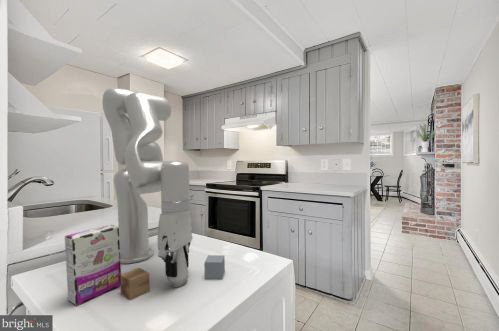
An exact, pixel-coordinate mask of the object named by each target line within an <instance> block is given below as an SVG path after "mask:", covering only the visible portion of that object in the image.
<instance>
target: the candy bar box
mask: <svg viewBox="0 0 499 331" xmlns="http://www.w3.org/2000/svg"><path fill="white" fill-rule="evenodd" d="M64 248H65V249H64V250H65V264H66V265H65V266H66V283H67V284H66V285H67V299H68V302H70V301H71V302H72V304H73V303H74V304H75V306H76V305H78V306H80V305H82V304H85V303H87V302H89V301H91V300H93V299H95V298H97V297H100V296H102V295H103V294H106V293H109V292H110V291H112V290H114V289H117V288H118V287H121V276H120V275H122V269H121V268H122V265H121V264H122V263H120V242H119V227H118V226H117V225H113V224H108V225H103V226H100V227H95V228H92V229H91V228H90V229H87V230H83V231H80V232H75V233H71V234H66V235H64ZM71 302H70V303H71ZM84 302H85V303H84ZM74 304H73V305H74ZM79 304H80V305H79Z"/></svg>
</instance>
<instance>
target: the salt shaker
mask: <svg viewBox="0 0 499 331" xmlns="http://www.w3.org/2000/svg"><path fill="white" fill-rule="evenodd" d="M169 255H170V256H172V253H169ZM175 262H177V277H175V278H174V277H167V276H166V280H167V281H168V283H169V284H170V287H174V288H178V287H182V286H184V285H185V284H186V282H187V279H188V277H189V269H188V268H189V267H188V268H187V263H186V258H185V253H184V249H183V247H181V248H180V249H178V250H176V258H175Z"/></svg>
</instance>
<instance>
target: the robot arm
mask: <svg viewBox="0 0 499 331" xmlns="http://www.w3.org/2000/svg"><path fill="white" fill-rule="evenodd" d="M102 109H103V114H104V116H105V119H106V122H107V123H108V125H109V129H110V132H111V139H112V145H113V154H114V157H115V160H116V162H117V163H118V164H119V165H122V166H125V168H124V169H120V170H118V171H116V173H115V174H114V176H113V186H114V190H115V196H116V203H117V222H118V223H117V224H118V227H119V242H120V264H122V265H123V264H128V265H129V264H134V263H140V262H143V261H145V260H148V259H149V258H151V257H152V256H153V255H154V249H153V248H151V247H149V246H150V245H149V213H148V212H149V211H148V204H147V202H146V201H145V200H144V199H143V198H142V197H141V195H145V194H153V193H159V192H160V198H161V202H160V204H161V206H160V207H161V208H160V209H161V213H160V214H159V220H158V225H157V249H158V252H157V257H158V258H160V259H161V260H163V263H165V276H166V278H167V277H174V278H175V277H177V262H175V258H176V250H178V249H180V248H181V247H183V249H184V253H185V258H186V263H187V268H189V253H190V246H191V242H192V241H193V238H194V237H193V227H192V217H191V197H190V196H191V195H190V166H189V164H188V163H187V162H186V161H172V160H164V157H163V153H162V149H161V146H160V144H158V143H157V141H158V140H159V139H161V137H162V136H163V133H164V132H163V129H162V124H161V121H162V122H165V121H167V120H168V119H170V117H171V116H172V105H171V103H170V101H169V100H168V99H167V97H164V96H162V95H157V94H152V93H147V92H142V91H141V92H140V91H137V90H131V89H127V88H120V87H118V88H117V87H111V88H108V89H106V90H105V91H104V92H103V95H102ZM126 114H127V115H126ZM170 253H172V256H170Z"/></svg>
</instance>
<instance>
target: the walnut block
mask: <svg viewBox="0 0 499 331" xmlns="http://www.w3.org/2000/svg"><path fill="white" fill-rule="evenodd" d="M120 276H121V286H120V294H121V295H122V296H123V297H125V298H126V299H128V300H129V301H132V300H135V299H136V298H139V297H140V296H142V295H144V294H147V293H149V292H150V291H151V289H150V288H151V287H150V272H148V271H147V270H145V269H142V268H140V267H138V268H134V269H133V270H130V271H127V272H124V273H121V275H120Z"/></svg>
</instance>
